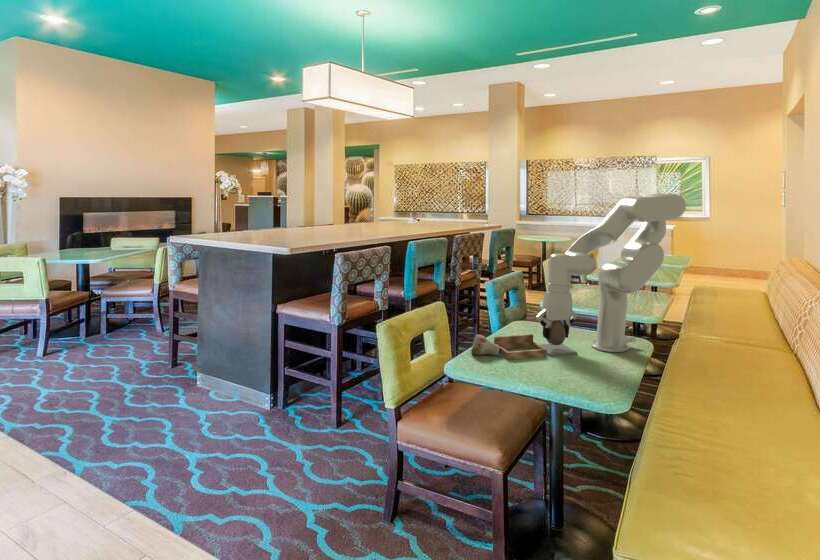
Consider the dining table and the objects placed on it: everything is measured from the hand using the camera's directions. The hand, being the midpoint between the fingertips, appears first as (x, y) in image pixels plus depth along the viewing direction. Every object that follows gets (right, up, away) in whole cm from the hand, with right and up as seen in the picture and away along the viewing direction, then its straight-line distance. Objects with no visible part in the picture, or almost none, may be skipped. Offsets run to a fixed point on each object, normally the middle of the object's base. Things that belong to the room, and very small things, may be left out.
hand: (555, 336), depth 189 cm
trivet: (0, -5, +1) cm, 5 cm away
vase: (0, -3, 0) cm, 3 cm away
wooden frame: (-13, -5, -3) cm, 15 cm away
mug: (-26, -6, -4) cm, 27 cm away
